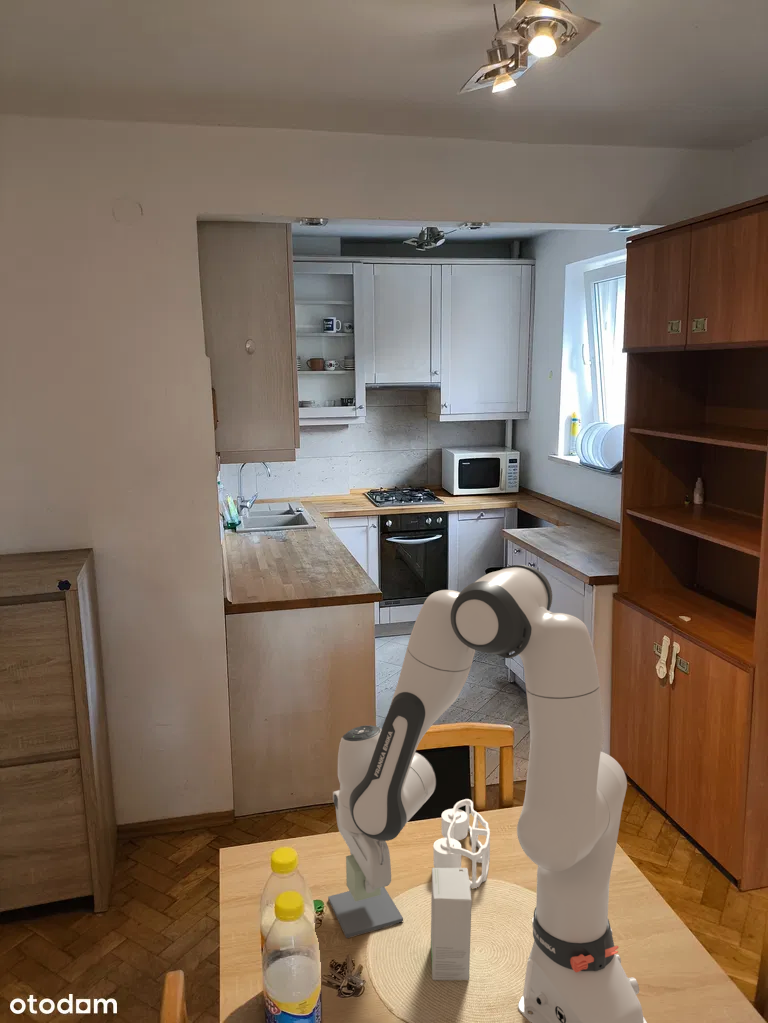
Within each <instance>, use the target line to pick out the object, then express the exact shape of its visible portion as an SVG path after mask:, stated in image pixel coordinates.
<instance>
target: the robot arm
mask: <svg viewBox="0 0 768 1023" xmlns="http://www.w3.org/2000/svg"><path fill="white" fill-rule="evenodd" d="M552 603H553V591H552V586H551V584H550V582H549V580H548V579H547V577H546V575H544V574H543V573H542V572H541V571H540V570H539V569H537V568H535V567H532V566H531V565H525V564H513V565H508V566H505V567H502V569H500V570H496V571H492V572H489V573H487V574H485V575H483V576H481V577H480V578H478V579H476V581H474V582H472V583H470V584H468V585H466V587H464V588H463V589H461V591H457V590H452V589H441V590H438V591H434V592H433V593H431V594H429V595H428V596H427V597H426V600H424V603H423V604H422V607H421V608H420V610H419V612H418V615H417V617H416V620H415V621H414V625H413V628H412V630H411V633H410V637H409V640H408V644H407V648H406V651H405V655H404V657H403V658H404V659H403V662H402V666H401V669H400V673H399V677H398V680H397V685H396V686H395V687H396V688H395V689H394V693H393V696H392V700H391V703H390V705H389V709H388V711H387V714H386V716H385V719H384V722H383V725H382V727H381V728H380V727H379V726H376V725H371V724H366V725H365V724H364V725H360V726H356V727H354V728H351V729H350V730H349V731H346V733H344V735H343V736H341V738H340V742H339V746H338V754H337V777H338V778H337V779H338V781H339V789H338V790H335V791H332V801H333V804H334V806H335V814H336V825H337V828H338V832H339V833H340V835H341V837H342V838H343V840H344V842H345V845H347V847H348V850H349V852H350V855H353V856H354V858H355V860H356V861H357V863H358V865H359V867H360V869H361V870H362V872H363V874H364V876H365V877H366V879H365V880H364V889H365V891H366V892H367V893H371V892H374V891H375V889H377V888H381V887H385V888H386V887H388V886H390V885H391V883H392V867H391V866H392V864H391V855H390V848H389V845H388V843H387V842H389V841H392V840H394V839H395V838H397V837H398V835H399V834H400V833H401V831H402V830H403V828H405V826H406V824H407V823H408V822H409V821H410V820H411V819H412V818H413V817H414V815H415V814H416V813H417V812H418V811H419V810H420V809H421V808H422V807H423V805H424V804H425V803H426V802H427V801H428V800H429V799H430V797H431V796H432V795H433V794H434V792H435V790H436V789H437V788H436V787H437V777H436V773H435V770H434V768H433V765H432V764H431V762H430V761H429V760H428V759H427V758H426V756H424V755H422V754H421V753H420V752H418V751H417V749H418V747H419V744H420V742H421V740H422V739H423V737H424V736H425V735H426V733H427V732H428V730H430V728H431V727H432V726H433V725H434V723H436V721H437V720H438V719H439V718H440V717H441V716H442V715H443V714H444V713H445V712H446V711H447V710H448V709H449V708H450V707H451V706H452V705H453V704H454V703H455V702H456V700H457V699H458V697H459V695H460V693H461V691H462V690H463V688H464V687H465V684H466V682H467V680H468V676H469V674H470V671H471V668H472V664H473V660H474V657H475V655H476V654H475V653H476V652H477V651H478V652H481V653H485V654H493V655H497V656H499V657H501V658H505V659H513V658H516V657H517V656H519V657H520V659H521V662H522V664H523V671H524V680H525V682H524V683H525V690H526V701H527V710H528V711H527V713H528V722H529V735H530V736H529V755H528V763H527V764H528V765H527V774H526V782H525V783H526V784H525V792H524V793H525V794H524V800H523V803H522V804H523V805H522V808H521V812H520V816H519V819H518V821H517V826H516V835H517V836H516V837H517V840H518V842H519V845H520V848H521V849H522V851H523V853H524V854H525V856H527V858H529V860H531V862H532V863H534V864H535V865H537V870H536V905H535V908H534V910H533V917H532V922H531V923H532V936H533V939H534V940H533V944H532V947H531V950H530V954H529V956H528V958H527V963H526V971H525V979H524V987H523V994H522V995H521V998H520V999H519V1001H518V1004H517V1010H518V1009H519V1010H518V1011H519V1013H520V1012H521V1013H522V1014H523V1015H522V1014H521V1013H520V1014H521V1015H522V1016H524V1018H525V1019H526V1020H528V1022H529V1023H531V1022H532V1023H648V1022H647V1020H646V1018H645V1017H644V1012H643V1007H642V1004H641V1002H640V1000H639V997H638V994H640V987H639V983H638V981H637V979H636V978H635V977H633V976H632V977H628V975H627V974H626V972H625V969H624V968H623V965H622V959H621V957H620V955H619V954H618V953H619V951H618V949H619V948H620V947H619V945H615V943H614V938H613V929H612V927H611V924H610V919H609V902H610V901H609V897H610V896H609V894H610V881H611V880H610V879H611V875H612V874H611V873H612V869H613V868H612V867H613V862H614V858H615V854H616V848H617V844H618V843H617V842H618V837H619V831H620V830H619V829H620V826H621V825H620V824H621V817H622V816H621V815H622V811H623V805H624V802H625V797H626V792H627V789H628V779H627V775H626V773H625V771H624V769H623V766H621V764H620V763H619V761H617V760H616V759H615V758H614V757H612V756H611V755H609V754H608V753H605V752H604V751H602V749H603V748H602V747H603V743H604V739H605V725H604V715H603V705H602V703H603V702H602V693H601V685H600V684H601V683H600V676H599V670H598V669H599V668H598V663H597V658H596V654H595V649H594V646H593V642H592V638H591V634H590V632H589V629H588V627H587V625H586V624H585V622H583V620H581V619H580V618H578V617H576V616H575V615H572V614H569V613H564V612H553V611H550V609H551V607H552ZM529 1012H532V1013H531V1014H530V1013H529Z"/></svg>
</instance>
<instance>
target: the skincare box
mask: <svg viewBox="0 0 768 1023" xmlns="http://www.w3.org/2000/svg"><path fill="white" fill-rule="evenodd" d="M469 880H470V876H469V869H468V868H467V867H460V868H435V867H431V907H430V908H431V909H430V912H431V914H430V915H431V918H430V919H431V920H430V957H431V973H432V974H431V978H432V981H454V980H469V981H470V965H471V963H470V962H471V959H470V958H471V956H470V955H471V932H472V931H471V930H472V928H471V927H472V904H473V901H472V891H471V888H470V885H471V883H470V881H471V880H470V881H469Z"/></svg>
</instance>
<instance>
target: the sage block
mask: <svg viewBox="0 0 768 1023" xmlns="http://www.w3.org/2000/svg"><path fill="white" fill-rule="evenodd" d="M345 869H346V871H345V872H346V875H345V877H346V879H345V881H346V887H347V888H348V891H350V893H351V894H352V896H353V898H354V900H355V901H359V900H363V899H367V898H371V897H374V896H378V895H381V888H377V889H375V891H374V892H371V893H367V892H366V891H365V889H364V880H365V879H366V877H365V876H364V874H363V872H362V870H361V869H360V867H359V865H358V863H357V861H356V860H355V858H354V856H353V855H351V854H350V855H346V856H345Z"/></svg>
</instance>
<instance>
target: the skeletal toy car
mask: <svg viewBox="0 0 768 1023" xmlns="http://www.w3.org/2000/svg"><path fill="white" fill-rule="evenodd" d="M464 806H465V811H464V810H462V809H460V808H462V807H464ZM470 814H471V816H472V817H473V822H472V826H471V825H470ZM479 823H480V824H481V825H482V827H483V828H479ZM489 824H490V823H489V822H488V821H486V819H484V817H483V816H482V815H481V814H480V813H479V812H477V811H476V810H474V801H473V800H471V799H469V798H465V799H462V800H459V801H457V802H456V803H455V804H454V805H453V808H448V809H445V810H444V811H442V813H441V835H442V838H439V839H436V840H435V841H434V843H433V847H432V848H433V866H434V867H433V868H462V856H464V857H466V858H468V859H469V860H471V862H472V863H471V866H472V868H471V869H472V870H471V880H470V879H469V881H470V883H471V885H470V889H471V888H476V889H478V888H480V886H481V884H482V883H484V882H485V881H487V878H488V874H489V870H490V869H489V868H490V861H491V860H490V859H491V857H490V856H491V853H490V852H491V828H490V827H489ZM468 832H469V834H470V836H469V839H470V842H471V850H468V849H466V848H464V847H463V848H462V844H461V842H460V841H461V840H463V839H465V838H467V836H468ZM479 836H485V843H484V844H482V842H481V841H480V840H479ZM477 848H478V851H477ZM476 851H477V852H476ZM477 863H481V875H480V876H478V879H477ZM477 887H478V888H477Z"/></svg>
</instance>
